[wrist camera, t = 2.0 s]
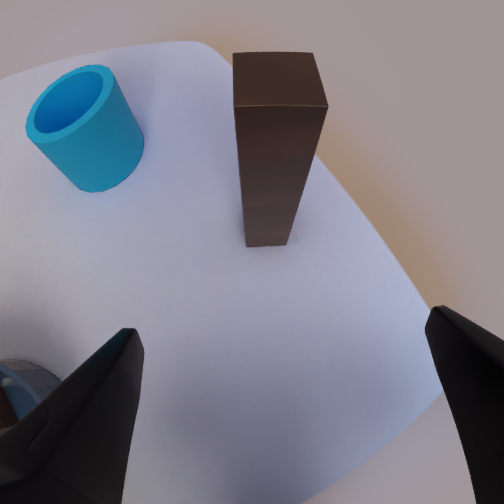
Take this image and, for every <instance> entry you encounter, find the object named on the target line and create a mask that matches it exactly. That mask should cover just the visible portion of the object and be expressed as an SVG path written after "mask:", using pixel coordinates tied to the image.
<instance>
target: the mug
mask: <svg viewBox="0 0 504 504" xmlns="http://www.w3.org/2000/svg"><path fill="white" fill-rule="evenodd" d="M25 128H26V133H27V137H28V138H29V139H30V140H31V141H32V142H33V143H34V144H35V145H36V146H37V147H38V148H39V149H40V150H41V151H42V152H43V153H44V154H45V155H46V156H47V157H48V158H49V160H50V161H51V162H52V163H53V164H54V165H55V166H56V167H57V168H58V169H59V170H60V171H61V172H62V173H63V174H64V175H65V176H66V177H67V178H68V179H70V180H71V181H72V182H73V183H74V184H75V185H76V186H77V187H78V188H79V189H80V190H84V191H87V192H100V191H104V190H107V189H109V188H112V187H114V186H116V185H117V184H118V183H120V182H121V181H123V180H124V179H125V178H127V176H128V175H129V174H130V173H131V172H132V171H133V170H134V169H135V167H136V166H137V164H138V162H139V160H140V158H141V156H142V152H143V147H144V140H143V134H142V132H141V130H140V128H139V126H138V124H137V122H136V120H135V118H134V116H133V114H132V112H131V110H130V108H129V106H128V104H127V102H126V100H125V98H124V96H123V94H122V92H121V89H120V87H119V85H118V83H117V81H116V79H115V77H114V75H113V73H112V72H111V71H110V69H109V68H108V67H105V66H102V65H87V66H84V67H80V68H77V69H75V70H73V71H71V72H69V73H67V74H65V75H63V76H62V77H60V78H59V79H57V80H56V81H55V82H53V83H52V84H51V85H50V86H49V87H48V88H47V89H46V90H45V91H44V92H43V93H42V94H41V95H40V96H39V98H38V99H37V100H36V102H35V103H34V105H33V106H32V108H31V110H30V112H29V115H28V117H27V122H26V127H25Z"/></svg>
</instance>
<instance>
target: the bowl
mask: <svg viewBox="0 0 504 504" xmlns="http://www.w3.org/2000/svg"><path fill="white" fill-rule="evenodd" d="M61 383H62V382H61V381H60V380H59V379H58V378H57V377H56V376H54V375H53V374H51V373H50V372H49V371H47V370H46V369H44V368H42V367H40V366H38V365H36V364H33V363H30V362H27V361H22V360H2V359H0V387H2V388H3V390H4V392H5V394H6V397H7V399H8V401H9V403H10V405H11V407H12V409H13V411H14V413H15V415H16V416H17V418H18V420H19V421H20V420H21V419H22V418H24V417H25V416H26V415H27V414H28V413H29V412H30V411H32V410H33V409H34V408H35V407H36V406H37V405H38V404H39V403H40V402H41V401H42V400H44V399H46V397H47V396H48V395H49V394H50V393H51V392H52V391H53V390H54V389H56V388H57V387H58V386H59V385H60V384H61Z"/></svg>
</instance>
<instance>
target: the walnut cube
mask: <svg viewBox="0 0 504 504" xmlns="http://www.w3.org/2000/svg"><path fill="white" fill-rule="evenodd" d="M17 422H19V420H18V418H17V416H16V415H15V413H14V411H13V409H12V407H11V405H10V403H9V401H8V399H7V397H6V394H5V392H4V390H3V388H2V387H0V436H1V435H2V434H3V433H5V432H6V431H7V430H9V429H10V428H11V427H13V426H14V425H15V424H16V423H17Z"/></svg>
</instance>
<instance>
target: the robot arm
mask: <svg viewBox="0 0 504 504" xmlns="http://www.w3.org/2000/svg"><path fill="white" fill-rule="evenodd" d="M425 334H426V337H427V340H428V344H429V347H430V350H431V354H432V357H433V361H434V364H435V367H436V371H437V374H438V376H439V379H440V382H441V384H442V387H443V390H444V392H445V395H446V398H447V401H448V403H449V406H450V409H451V412H452V415H453V418H454V421H455V424H456V427H457V430H458V433H459V437H460V440H461V443H462V447H463V450H464V454H465V457H466V461H467V465H468V469H469V472H470V475H471V481H472V485H473V490H474V495H475V499H476V504H504V340H502V339H500V338H499V337H497V336H495V335H494V334H492V333H490V332H489V331H487V330H485V329H484V328H482V327H480V326H479V325H477V324H475V323H474V322H472V321H470V320H469V319H467V318H465V317H463V316H462V315H460V314H458V313H457V312H455V311H453V310H451V309H450V308H448V307H446V306H444V305H442V306H435V307H433V308H432V309H431V312H430V315H429V317H428V320H427V323H426V326H425ZM143 362H144V348H143V345H142V342H141V340H140V337H139V334H138V332H137V330H136V329H134V328H123V329H121V330H120V331H119V332H118V333H116V334H115V335H114V336H113V337H112V338H111V339H110V340H108V341H107V342H106V343H105V344H104V345H103V346H102V347H101V348H100V349H98V350H97V351H96V352H95V353H94V354H93V355H92V356H91V357H90V358H88V359H87V360H86V361H85V362H84V363H83V364H82V365H81V366H80V367H78V368H77V369H76V370H75V371H74V372H73V373H72V374H71V375H70V376H69V377H67V378H66V379H65V380H64V381H63V382H62V383H61V384H60V385H59V386H58V387H57V388H56V389H54V390H53V391H52V392H51V393H50V394H49V395H48V396H47V397H46V399H44V400H42V401H41V402H40V403H39V404H38V405H37V406H36V407H35V408H34V409H33V410H32V411H30V412H29V413H28V414H27V415H26V416H25V417H24V418H22V419H21V420H20V421H19V422H17V423H16V424H15V425H14V426H13V427H11V428H10V429H9V430H7V431H6V432H5V433H3V434H2V435H1V436H0V504H121V502H122V495H123V488H124V481H125V475H126V469H127V462H128V457H129V451H130V445H131V440H132V435H133V429H134V424H135V419H136V414H137V409H138V405H139V399H140V391H141V380H142V371H143Z"/></svg>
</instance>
